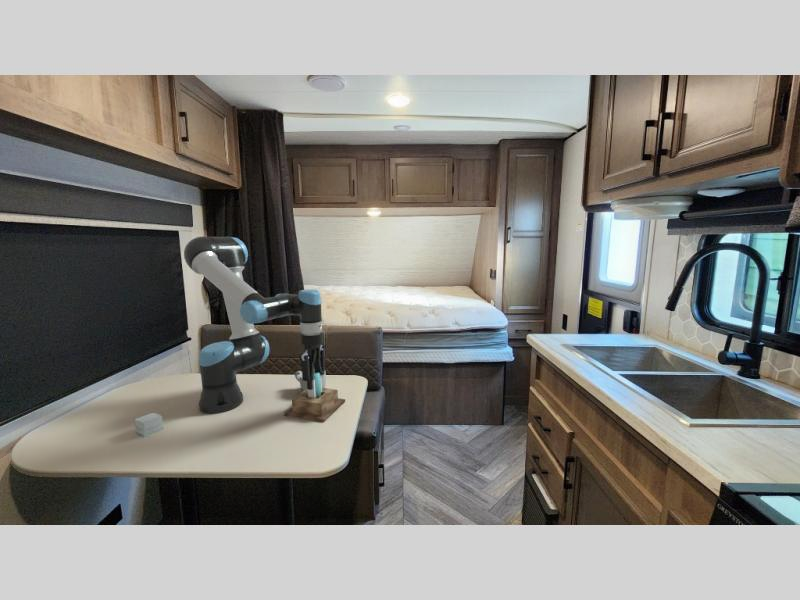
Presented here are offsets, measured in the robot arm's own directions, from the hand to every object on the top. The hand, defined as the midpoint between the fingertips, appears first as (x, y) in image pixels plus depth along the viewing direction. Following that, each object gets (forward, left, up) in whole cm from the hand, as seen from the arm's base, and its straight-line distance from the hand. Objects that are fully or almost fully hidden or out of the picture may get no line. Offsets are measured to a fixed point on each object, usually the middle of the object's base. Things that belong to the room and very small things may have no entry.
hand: (315, 394), depth 126 cm
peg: (0, 0, -4) cm, 4 cm away
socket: (0, 0, -6) cm, 6 cm away
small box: (-45, -29, -6) cm, 54 cm away
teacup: (-11, +14, -6) cm, 19 cm away
